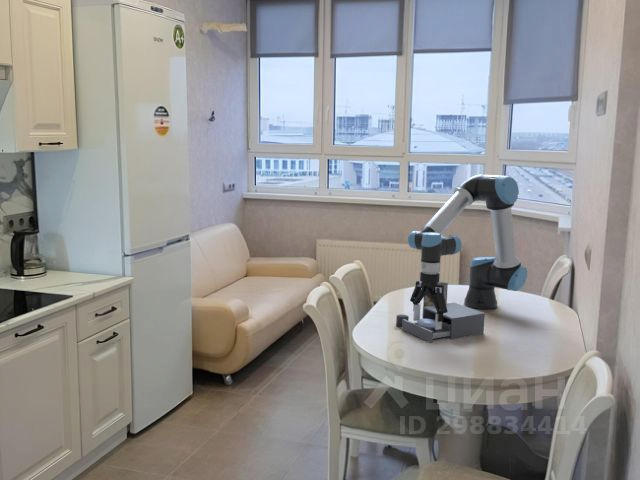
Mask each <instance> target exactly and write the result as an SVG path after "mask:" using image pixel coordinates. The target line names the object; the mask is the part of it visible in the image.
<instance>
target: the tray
mask: <svg viewBox="0 0 640 480" xmlns="http://www.w3.org/2000/svg"><path fill="white" fill-rule="evenodd" d="M434 320H435V319H434ZM401 330H402V331H405V332H406V333H409V334H411V335H413V336H415V337H418V338H420V339H422V340H425V341H427V342H429V343H433V340H434V339H439V338H447V337H446V336H450V331H451V325H450V324H448V323H445V322H443V321H442V329H439V330H435V328H430V329H429V328H424V327H421V326H419V325H417V321H414V322H412V321H407V320H405V319H402V327H401Z"/></svg>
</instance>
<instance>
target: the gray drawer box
mask: <svg viewBox="0 0 640 480" xmlns="http://www.w3.org/2000/svg"><path fill="white" fill-rule="evenodd" d="M446 307H447V313H444V314H443V322H445V323H448V324H450V325H451V331H450V336H446V337H445V338H447V339H450V340H457V339H460V338H466V337H467V338H468V337H471V336H477V335H482V334H484V330H485V320H486V319H485V317H486V316H485V315H486V314H485V313H486V312H482V311H481V310H480V311H479V310H477V309H475V308H472V307H468V306H466V305H464V304H463V305H462V304H459V303H457V302H447V304H446ZM436 313H437V310H436V308H435V306H427V307H423V306H422V319H433V320H434V319H435V318H436Z"/></svg>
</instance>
